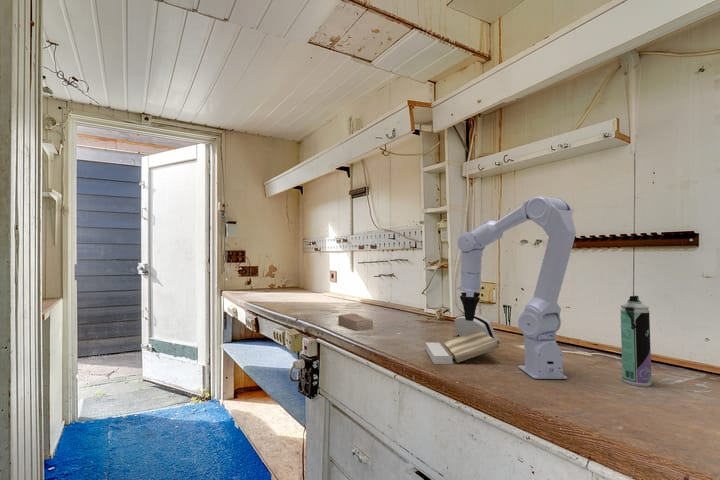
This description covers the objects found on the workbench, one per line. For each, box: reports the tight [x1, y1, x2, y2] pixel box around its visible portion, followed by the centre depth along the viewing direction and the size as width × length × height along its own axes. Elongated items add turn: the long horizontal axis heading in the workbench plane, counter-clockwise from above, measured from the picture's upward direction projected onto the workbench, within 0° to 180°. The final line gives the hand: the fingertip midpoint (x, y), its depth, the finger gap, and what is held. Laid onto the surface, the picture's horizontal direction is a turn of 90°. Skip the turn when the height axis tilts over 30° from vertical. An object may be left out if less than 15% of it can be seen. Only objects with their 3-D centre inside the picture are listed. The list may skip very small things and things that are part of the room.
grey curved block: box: [454, 314, 501, 344], centre depth 134 cm, size 17×5×10 cm, turn 25°
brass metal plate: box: [443, 329, 500, 364], centre depth 112 cm, size 16×12×2 cm
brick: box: [337, 312, 374, 332], centre depth 158 cm, size 17×8×5 cm, turn 30°
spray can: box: [620, 295, 653, 387], centre depth 89 cm, size 6×6×20 cm
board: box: [425, 341, 454, 365], centre depth 112 cm, size 16×5×2 cm, turn 178°
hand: (469, 318), depth 115 cm, fingers open, 7 cm apart
